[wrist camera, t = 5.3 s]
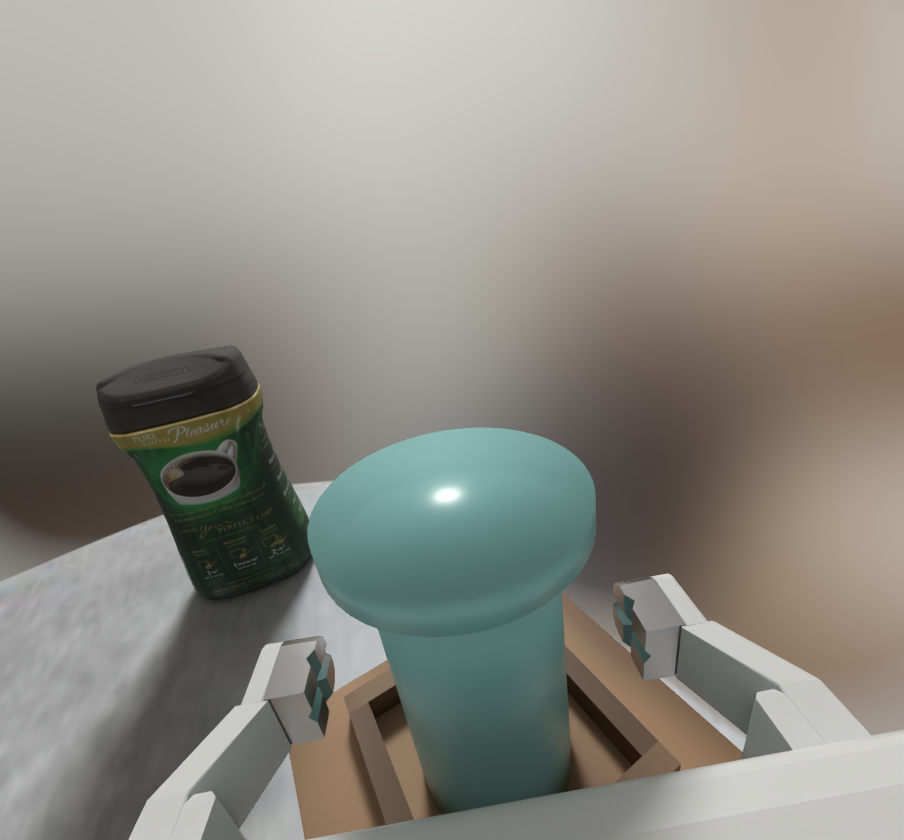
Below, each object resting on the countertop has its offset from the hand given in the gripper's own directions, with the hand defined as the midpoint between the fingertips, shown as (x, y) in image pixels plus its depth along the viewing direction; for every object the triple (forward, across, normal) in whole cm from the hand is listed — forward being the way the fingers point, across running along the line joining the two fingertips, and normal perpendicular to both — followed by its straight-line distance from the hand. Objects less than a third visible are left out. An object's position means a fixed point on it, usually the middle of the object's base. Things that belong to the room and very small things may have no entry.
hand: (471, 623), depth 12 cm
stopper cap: (0, 0, +6) cm, 6 cm away
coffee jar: (+21, +18, +14) cm, 31 cm away
